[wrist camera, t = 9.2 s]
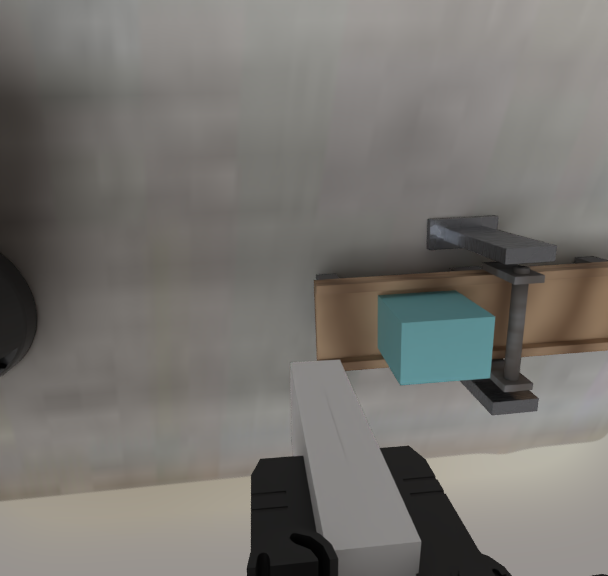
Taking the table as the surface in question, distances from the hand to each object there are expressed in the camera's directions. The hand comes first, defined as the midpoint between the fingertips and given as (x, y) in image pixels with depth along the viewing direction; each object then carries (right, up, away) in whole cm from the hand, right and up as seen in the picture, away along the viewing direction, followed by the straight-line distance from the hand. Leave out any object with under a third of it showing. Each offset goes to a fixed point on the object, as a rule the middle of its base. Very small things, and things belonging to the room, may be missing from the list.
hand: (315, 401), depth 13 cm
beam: (+16, +3, +32) cm, 36 cm away
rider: (+10, +1, +26) cm, 27 cm away
